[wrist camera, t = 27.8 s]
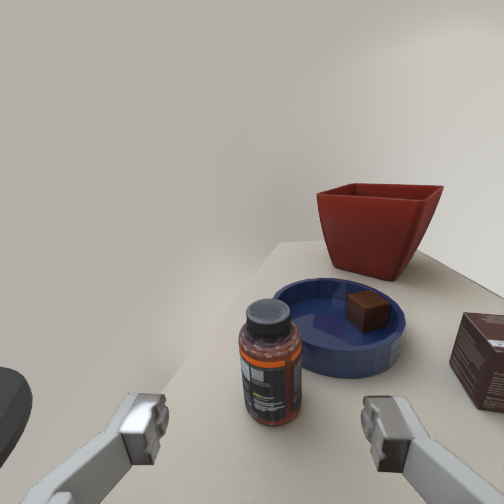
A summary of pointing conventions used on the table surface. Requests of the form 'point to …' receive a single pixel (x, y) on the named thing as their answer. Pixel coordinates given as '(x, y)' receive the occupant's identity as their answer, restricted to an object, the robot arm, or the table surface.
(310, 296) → the bowl
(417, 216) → the flower pot
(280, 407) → the supplement bottle
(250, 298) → the table surface
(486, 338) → the box
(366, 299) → the block
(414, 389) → the table surface
